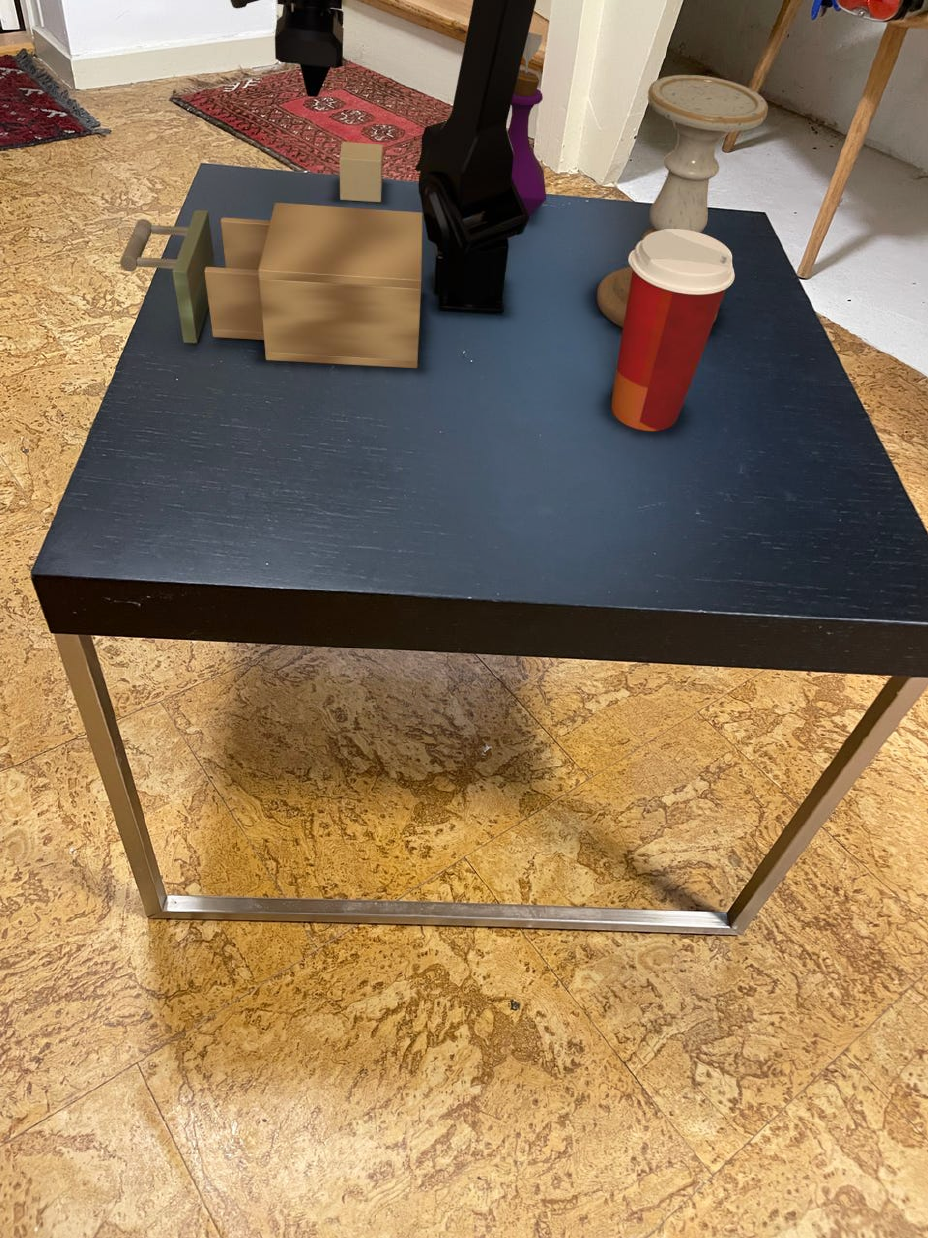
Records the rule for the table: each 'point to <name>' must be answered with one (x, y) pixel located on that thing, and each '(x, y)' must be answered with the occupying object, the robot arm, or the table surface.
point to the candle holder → (687, 160)
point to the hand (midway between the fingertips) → (312, 94)
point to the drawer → (210, 274)
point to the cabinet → (342, 285)
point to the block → (361, 171)
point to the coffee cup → (667, 323)
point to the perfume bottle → (526, 133)
